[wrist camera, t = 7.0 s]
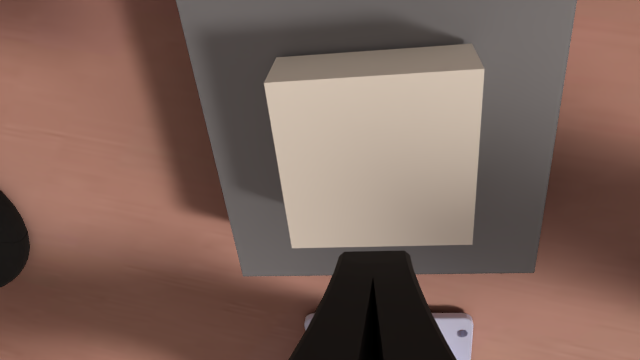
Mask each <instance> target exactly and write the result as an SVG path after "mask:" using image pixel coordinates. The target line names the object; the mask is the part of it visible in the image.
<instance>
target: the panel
mask: <svg viewBox="0 0 640 360" xmlns="http://www.w3.org/2000/svg"><path fill="white" fill-rule="evenodd" d="M176 3H177V7H178V11H179V15H180V19H181V23H182V28H183V32H184V36H185V40H186V44H187V48H188V52H189V56H190V60H191V64H192V69H193V73H194V77H195V81H196V85H197V89H198V93H199V97H200V101H201V106H202V110H203V114H204V118H205V122H206V126H207V130H208V134H209V138H210V142H211V147H212V151H213V155H214V159H215V163H216V167H217V171H218V175H219V179H220V184H221V188H222V192H223V196H224V200H225V204H226V208H227V212H228V216H229V220H230V225H231V229H232V233H233V237H234V241H235V245H236V249H237V253H238V257H239V262H240V266H241V270H242V274H243V276H313V275H333V273H334V270H335V267H336V264H337V261H338V258H339V256H340V255H341V254H342V253H343V252H352V251H406V252H407V253H408V254H410V257H411V262H412V265H413V269H414V272H415V274H475V273H534V271H535V265H536V259H537V252H538V246H539V239H540V233H541V227H542V220H543V214H544V207H545V201H546V195H547V188H548V182H549V175H550V169H551V163H552V156H553V150H554V144H555V137H556V131H557V124H558V118H559V112H560V105H561V99H562V92H563V86H564V80H565V73H566V67H567V60H568V54H569V48H570V41H571V35H572V29H573V22H574V16H575V9H576V3H577V0H176ZM459 44H472V45H473V47H474V49H475V51H476V53H477V55H478V57H479V59H480V61H481V63H482V65H483V67H484V69H485V70H484V85H483V99H482V114H481V128H480V143H479V157H478V172H477V186H476V201H475V215H474V229H473V244H472V245H433V246H382V247H331V248H292V246H291V240H290V234H289V228H288V222H287V216H286V210H285V205H284V199H283V193H282V187H281V181H280V175H279V169H278V163H277V157H276V152H275V146H274V140H273V134H272V128H271V122H270V116H269V110H268V104H267V99H266V93H265V87H264V82H265V80H266V78H267V75H268V73H269V71H270V69H271V67H272V65H273V63H274V61H275V59H276V57H289V56H303V55H317V54H331V53H346V52H360V51H374V50H388V49H402V48H417V47H431V46H445V45H459Z"/></svg>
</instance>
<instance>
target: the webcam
mask: <svg viewBox="0 0 640 360" xmlns="http://www.w3.org/2000/svg"><path fill="white" fill-rule="evenodd" d="M29 249H30V244H29V237H28V231H27V229H26V226H25V224H24V221H23V219H22V217H21V215H20V214H19V212H18V211H17V209H16V207H15V206H14V205H13V204H12V203H11V202H10V201H9V199H8V198H7V197H6V196H5V195H4V194H3V193H2V192H1V191H0V287H2V286H5V285H6V284H8V283H9V282H11V281H12V280H13V279H15V278H16V277H17V276H18V275H19V274H20V272H21V271H22V269H23V268H24V266H25V264H26V262H27V259H28V255H29Z"/></svg>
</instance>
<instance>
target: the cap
mask: <svg viewBox="0 0 640 360" xmlns="http://www.w3.org/2000/svg"><path fill="white" fill-rule="evenodd" d="M484 70H485V69H484V67H483V65H482V63H481V61H480V59H479V57H478V55H477V53H476V51H475V49H474V47H473V45H472V44H459V45H445V46H431V47H417V48H402V49H388V50H374V51H360V52H346V53H331V54H317V55H303V56H289V57H276V59H275V61H274V63H273V65H272V67H271V69H270V71H269V73H268V75H267V78H266V80H265V82H264V87H265V93H266V99H267V104H268V110H269V116H270V122H271V128H272V134H273V140H274V146H275V152H276V157H277V163H278V169H279V175H280V181H281V187H282V193H283V199H284V205H285V210H286V216H287V222H288V228H289V234H290V240H291V246H292V248H331V247H382V246H433V245H472V244H473V229H474V215H475V201H476V186H477V172H478V157H479V143H480V128H481V114H482V99H483V85H484Z"/></svg>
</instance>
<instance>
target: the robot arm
mask: <svg viewBox="0 0 640 360" xmlns="http://www.w3.org/2000/svg"><path fill="white" fill-rule="evenodd" d="M304 326H305V333H304V335H303V337H302V338H301V340H300V342H299V343H298V345H297V347H296V348H295V350H294V352H293V353H292V355H291V357H290V358H289V360H471V349H472V337H473V321H472V317H471V316H470V315H468V314H466V313H431V311H430V309H429V306H428V304H427V302H426V300H425V297H424V295H423V293H422V290H421V288H420V286H419V283H418V280H417V278H416V275H415V272H414V269H413V265H412V262H411V257H410V254H408V253H407V252H406V251H352V252H343V253H342V254H341V255H340V256H339V258H338V261H337V264H336V267H335V270H334V273H333V275H332V278H331V280H330V283H329V285H328V287H327V289H326V292H325V294H324V296H323V298H322V300H321V302H320V304H319V306H318V308H317V310H316V312H315V313H313V314H309V315H307V316H306V318H305V324H304ZM459 330H462V331H459Z"/></svg>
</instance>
